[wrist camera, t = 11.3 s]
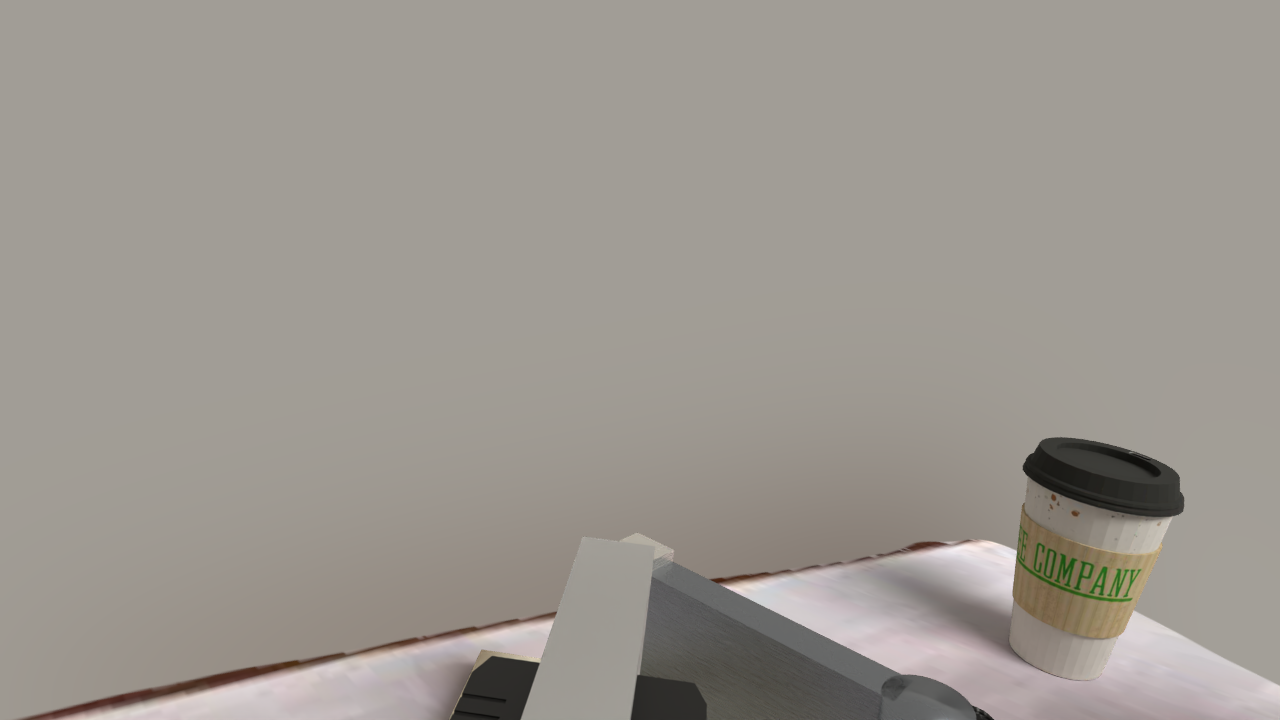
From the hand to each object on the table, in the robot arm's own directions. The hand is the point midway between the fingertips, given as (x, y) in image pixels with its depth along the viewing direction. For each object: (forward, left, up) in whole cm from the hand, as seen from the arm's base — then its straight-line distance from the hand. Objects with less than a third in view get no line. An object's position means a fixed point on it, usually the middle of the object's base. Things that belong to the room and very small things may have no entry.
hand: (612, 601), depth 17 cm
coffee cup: (-30, -40, -23) cm, 55 cm away
